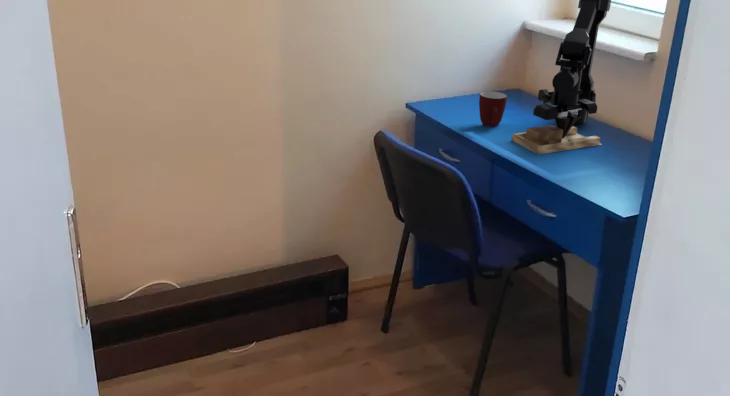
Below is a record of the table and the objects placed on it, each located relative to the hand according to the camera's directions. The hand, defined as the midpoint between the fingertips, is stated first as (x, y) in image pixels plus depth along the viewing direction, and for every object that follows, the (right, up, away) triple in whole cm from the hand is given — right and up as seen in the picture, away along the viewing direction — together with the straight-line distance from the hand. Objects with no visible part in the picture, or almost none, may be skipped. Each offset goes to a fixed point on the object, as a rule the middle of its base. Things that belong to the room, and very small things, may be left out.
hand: (561, 138), depth 211 cm
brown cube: (-4, -2, -1) cm, 4 cm away
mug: (-18, +4, +13) cm, 23 cm away
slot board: (-1, -2, 0) cm, 3 cm away
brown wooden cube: (-8, -2, -3) cm, 9 cm away
